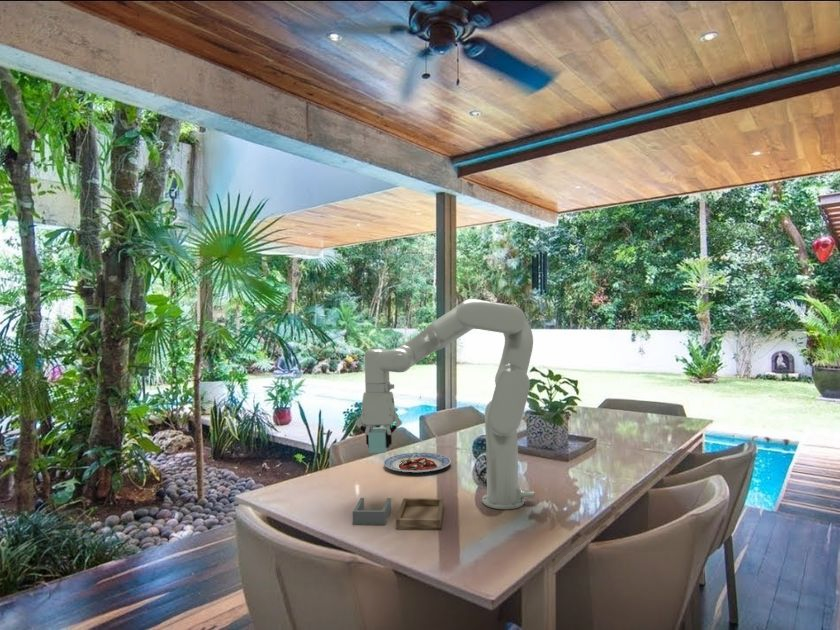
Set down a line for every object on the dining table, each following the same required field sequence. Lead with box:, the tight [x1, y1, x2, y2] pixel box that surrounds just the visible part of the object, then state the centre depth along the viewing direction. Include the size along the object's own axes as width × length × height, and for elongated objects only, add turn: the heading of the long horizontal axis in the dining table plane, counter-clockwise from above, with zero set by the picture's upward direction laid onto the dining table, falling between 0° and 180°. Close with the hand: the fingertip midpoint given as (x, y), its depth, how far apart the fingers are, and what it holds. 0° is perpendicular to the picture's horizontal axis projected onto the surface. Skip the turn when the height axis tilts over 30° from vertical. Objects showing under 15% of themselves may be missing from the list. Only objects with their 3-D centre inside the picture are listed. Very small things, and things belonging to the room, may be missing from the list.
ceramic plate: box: [383, 452, 452, 474], centre depth 197 cm, size 26×26×3 cm
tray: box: [395, 497, 444, 531], centre depth 146 cm, size 12×16×2 cm
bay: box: [352, 497, 392, 526], centre depth 147 cm, size 9×11×4 cm
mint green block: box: [368, 425, 389, 454], centre depth 161 cm, size 5×12×6 cm, turn 175°
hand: (379, 446), depth 159 cm, fingers closed on mint green block, 5 cm apart
